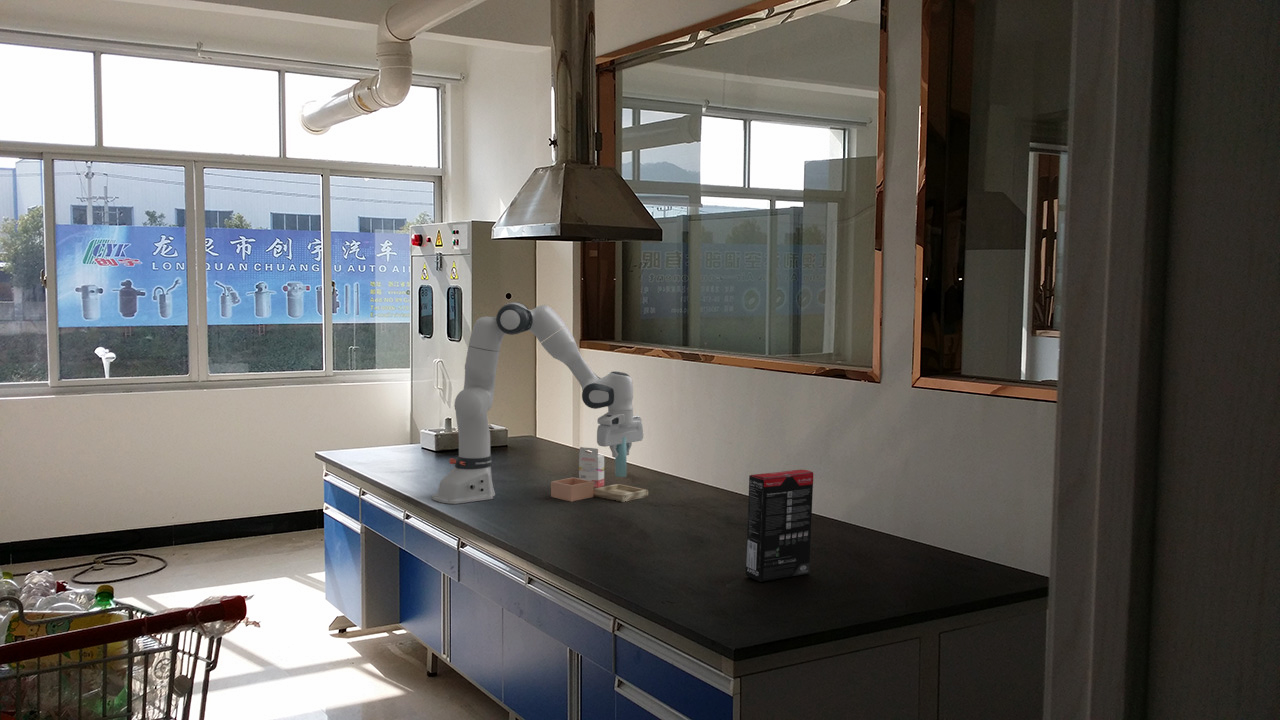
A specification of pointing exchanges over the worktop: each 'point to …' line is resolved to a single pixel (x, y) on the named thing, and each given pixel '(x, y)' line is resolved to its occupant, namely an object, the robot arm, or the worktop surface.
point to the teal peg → (621, 460)
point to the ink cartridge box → (591, 466)
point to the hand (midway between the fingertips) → (620, 456)
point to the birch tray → (620, 492)
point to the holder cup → (572, 489)
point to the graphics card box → (779, 524)
